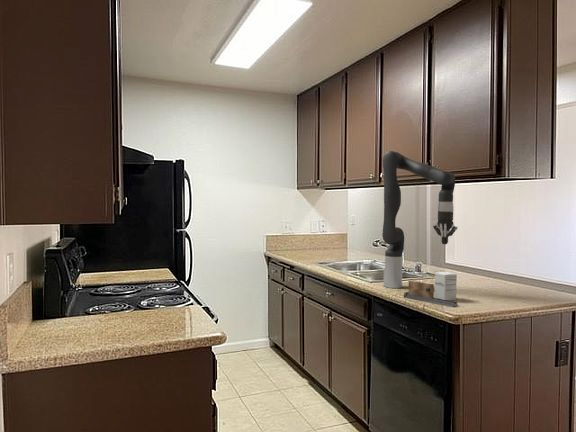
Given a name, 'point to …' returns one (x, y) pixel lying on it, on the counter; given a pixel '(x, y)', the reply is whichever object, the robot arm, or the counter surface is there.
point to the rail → (431, 300)
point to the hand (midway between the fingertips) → (444, 244)
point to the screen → (421, 289)
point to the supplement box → (445, 285)
